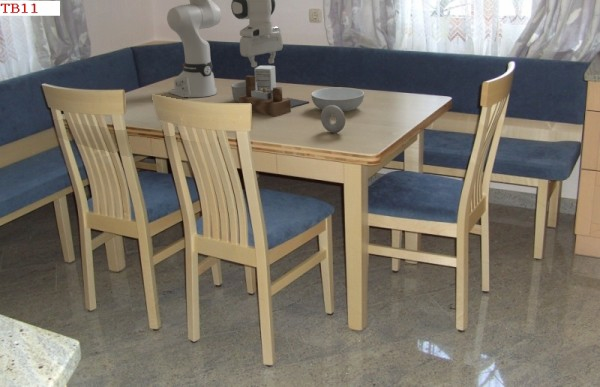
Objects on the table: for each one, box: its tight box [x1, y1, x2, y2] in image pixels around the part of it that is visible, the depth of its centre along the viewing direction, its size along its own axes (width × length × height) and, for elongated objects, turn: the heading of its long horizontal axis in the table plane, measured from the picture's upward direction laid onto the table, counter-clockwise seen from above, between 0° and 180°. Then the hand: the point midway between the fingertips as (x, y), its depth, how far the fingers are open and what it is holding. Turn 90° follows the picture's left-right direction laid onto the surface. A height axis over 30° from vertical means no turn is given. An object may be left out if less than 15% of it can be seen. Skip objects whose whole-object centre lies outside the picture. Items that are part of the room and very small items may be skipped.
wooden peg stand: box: [238, 74, 292, 117], centre depth 294 cm, size 20×9×13 cm, turn 48°
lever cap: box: [251, 88, 273, 101], centre depth 294 cm, size 9×5×4 cm, turn 48°
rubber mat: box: [285, 97, 310, 109], centre depth 306 cm, size 12×12×1 cm
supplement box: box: [253, 65, 277, 91], centre depth 318 cm, size 7×7×13 cm
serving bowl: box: [310, 86, 365, 113], centre depth 293 cm, size 21×21×7 cm
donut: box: [320, 105, 346, 134], centre depth 261 cm, size 10×4×10 cm, turn 51°
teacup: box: [230, 80, 257, 104], centre depth 311 cm, size 14×11×8 cm
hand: (262, 65), depth 290 cm, fingers open, 8 cm apart
